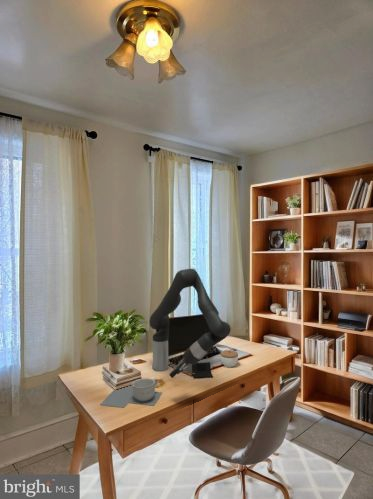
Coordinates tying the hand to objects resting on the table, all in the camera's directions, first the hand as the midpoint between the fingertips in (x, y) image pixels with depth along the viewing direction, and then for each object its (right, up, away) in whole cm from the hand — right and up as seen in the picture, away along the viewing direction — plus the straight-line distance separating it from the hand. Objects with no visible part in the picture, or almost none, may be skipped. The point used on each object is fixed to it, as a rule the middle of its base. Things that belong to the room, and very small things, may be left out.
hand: (170, 376), depth 151 cm
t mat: (-18, -12, +4) cm, 22 cm away
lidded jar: (+34, -11, +43) cm, 56 cm away
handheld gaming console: (+16, -12, +30) cm, 36 cm away
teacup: (-12, -12, +3) cm, 17 cm away
